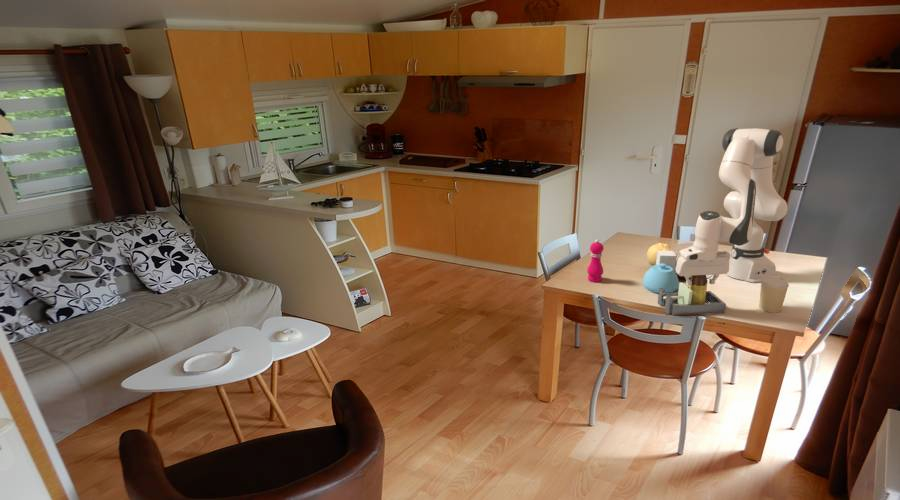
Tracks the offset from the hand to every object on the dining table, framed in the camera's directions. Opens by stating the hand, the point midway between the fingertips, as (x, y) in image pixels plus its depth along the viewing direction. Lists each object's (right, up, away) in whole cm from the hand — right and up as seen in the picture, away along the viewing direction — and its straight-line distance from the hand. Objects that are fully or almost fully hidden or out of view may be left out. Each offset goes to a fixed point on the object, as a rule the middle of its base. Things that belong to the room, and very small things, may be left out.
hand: (700, 284), depth 209 cm
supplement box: (-2, 0, +32) cm, 32 cm away
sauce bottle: (0, -10, +4) cm, 10 cm away
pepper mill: (-34, 0, +33) cm, 47 cm away
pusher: (-9, -10, +3) cm, 14 cm away
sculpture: (+3, +7, +49) cm, 49 cm away
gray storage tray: (-3, -10, +3) cm, 11 cm away
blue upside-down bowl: (-7, -3, +22) cm, 23 cm away
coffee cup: (+28, -10, 0) cm, 30 cm away
